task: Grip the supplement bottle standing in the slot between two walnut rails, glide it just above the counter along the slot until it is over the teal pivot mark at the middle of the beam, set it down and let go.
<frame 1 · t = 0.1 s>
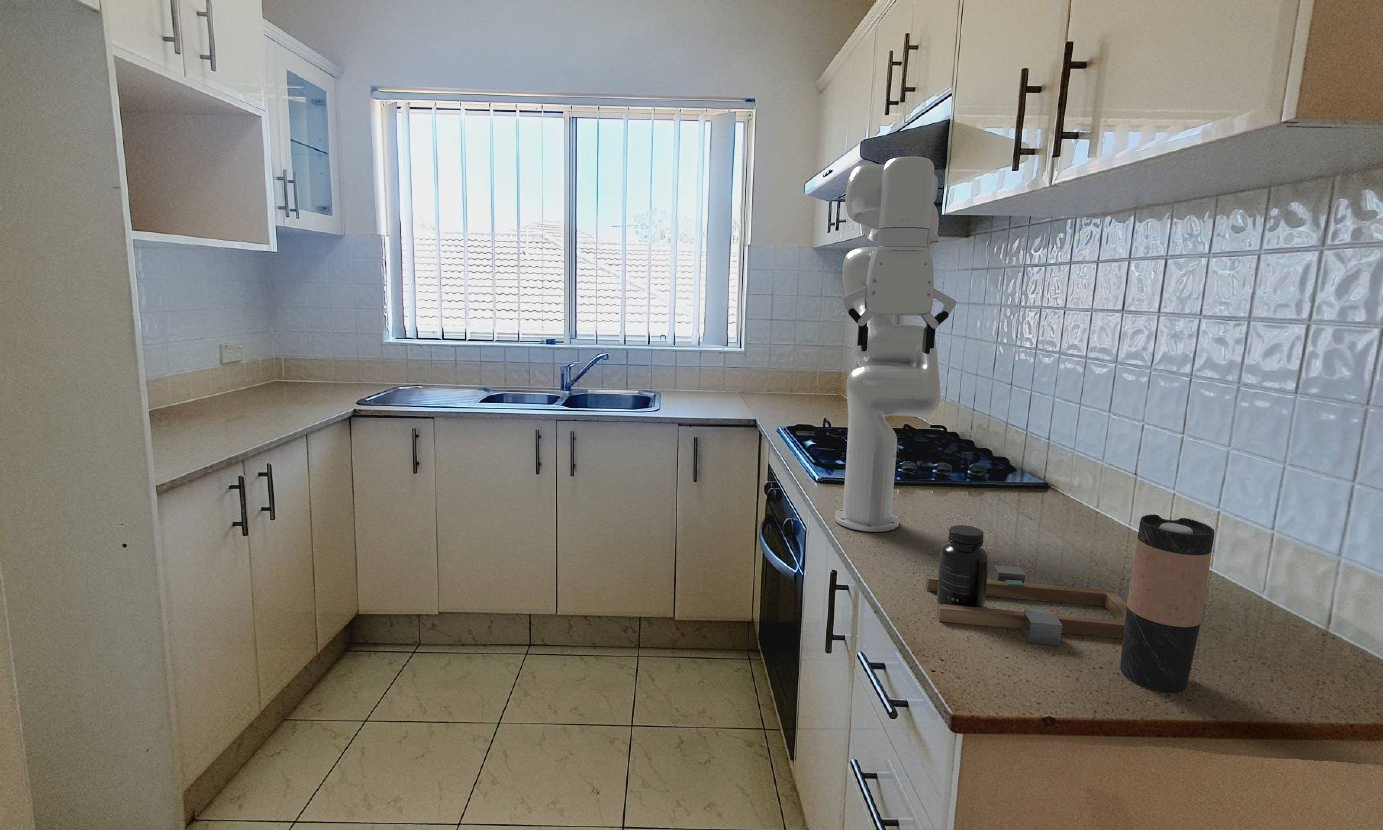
hand: (894, 351, 115), 37 cm above the worktop, tool pointing down, fingers open, 9 cm apart
travel mug: (1152, 678, 90), on the worktop
pivot blocks: (1022, 611, 107), on the worktop
walnut rails: (1022, 611, 107), on the worktop
supplement bottle: (959, 606, 108), on the worktop
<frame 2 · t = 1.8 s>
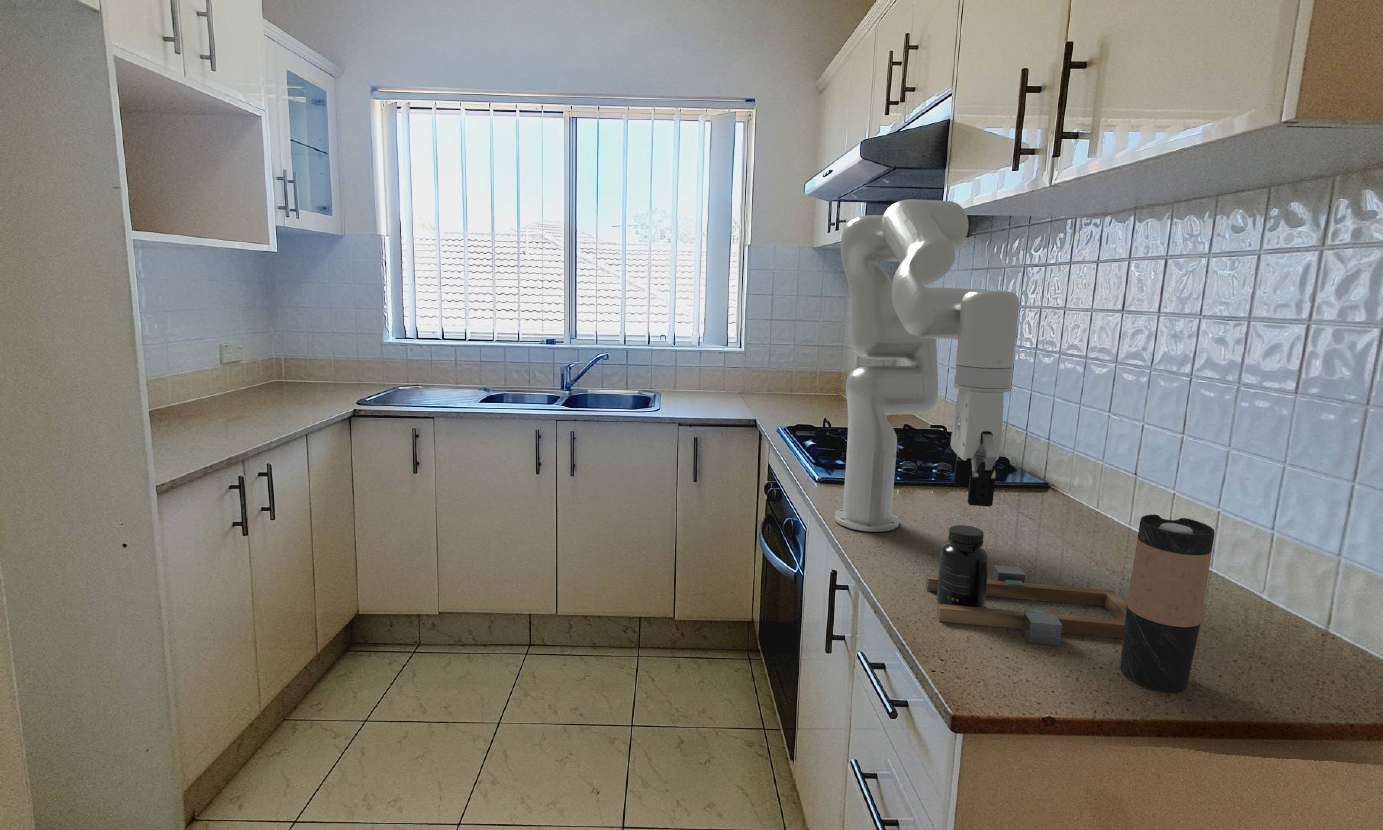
hand: (971, 495, 105), 17 cm above the worktop, tool pointing down, fingers open, 9 cm apart
nothing on the worktop moved.
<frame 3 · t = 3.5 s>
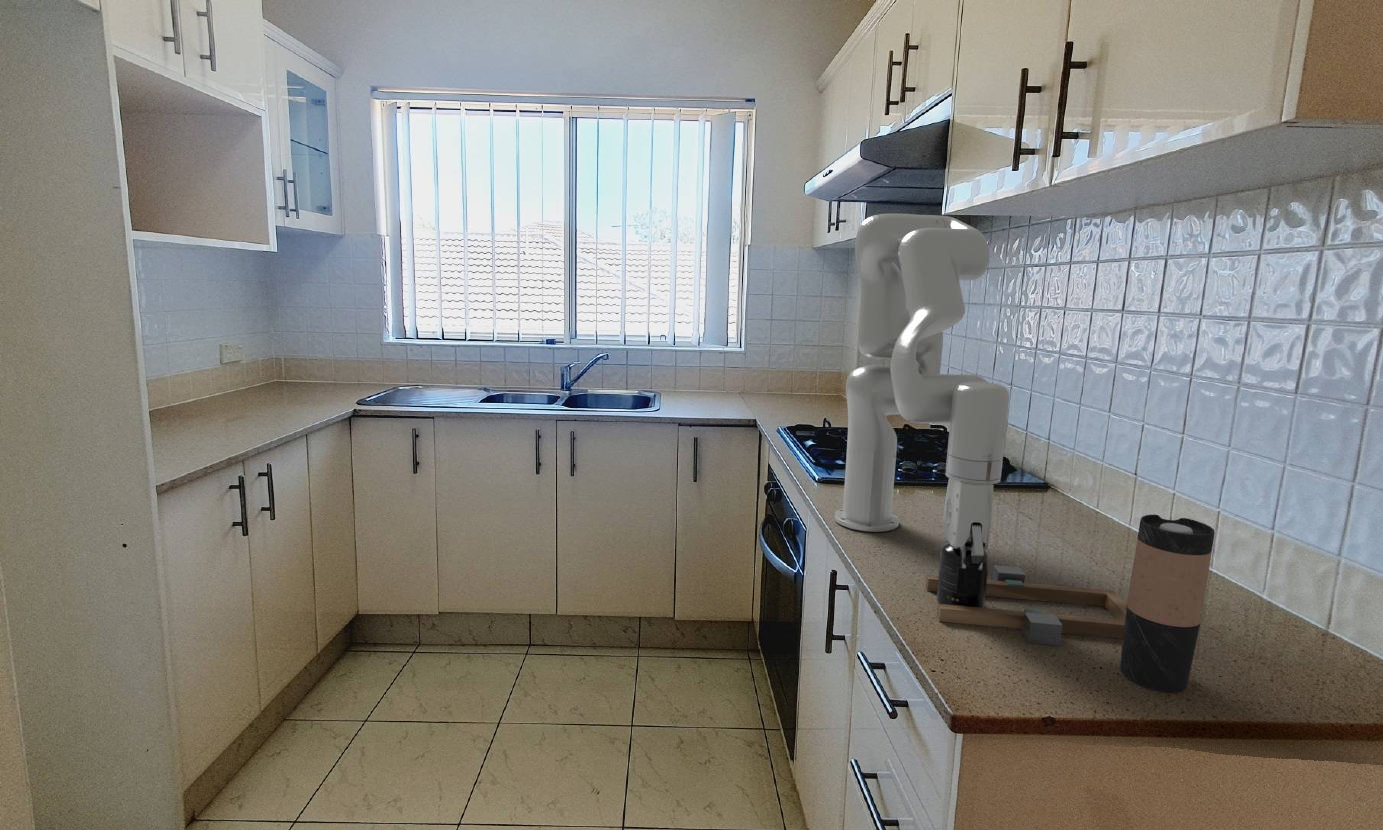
hand: (961, 582, 108), 4 cm above the worktop, tool pointing down, fingers closed on supplement bottle, 6 cm apart
supplement bottle: (959, 606, 108), on the worktop, touching gripper
everything else where it was.
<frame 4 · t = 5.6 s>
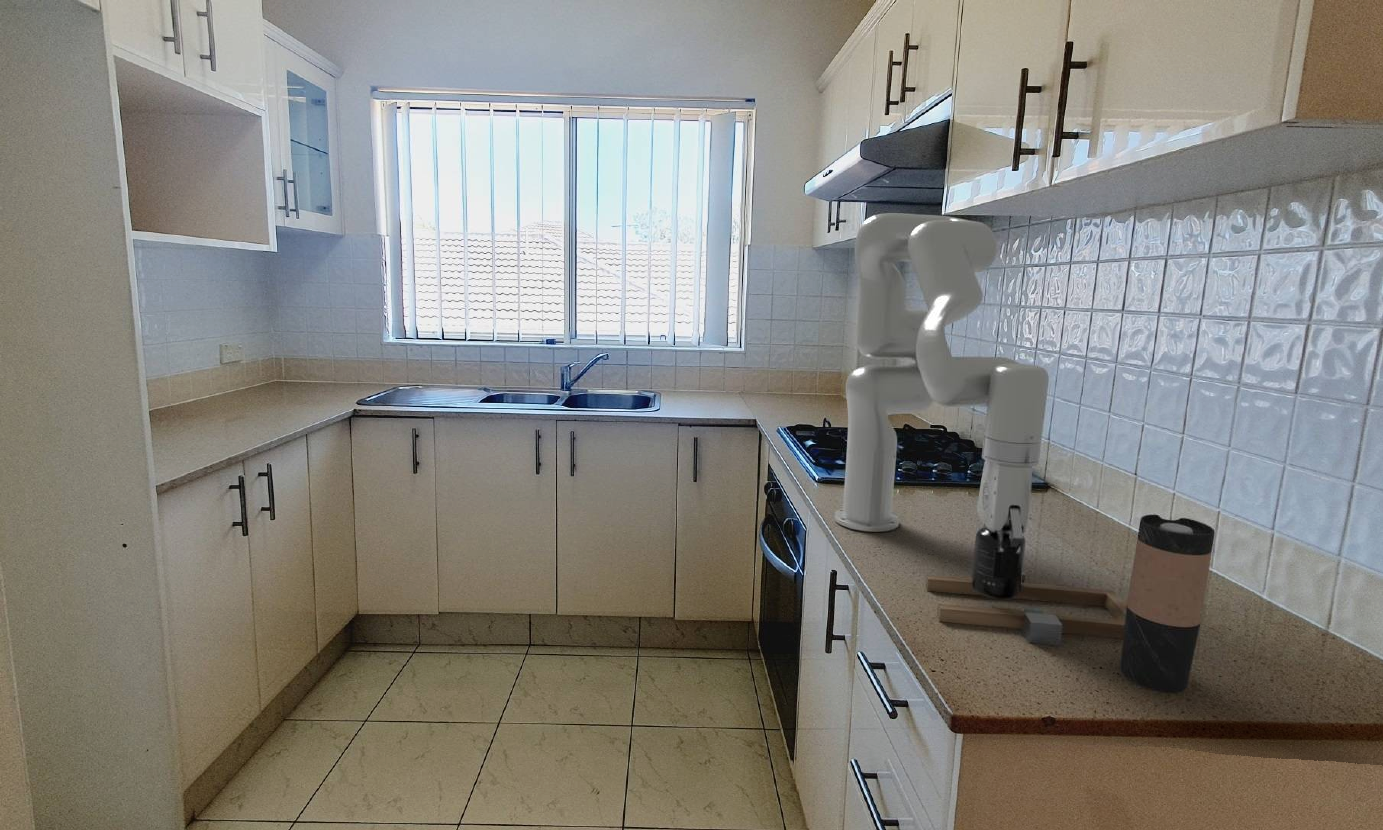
hand: (997, 566, 107), 7 cm above the worktop, tool pointing down, fingers closed on supplement bottle, 6 cm apart
supplement bottle: (994, 591, 107), point 3 cm above the worktop, touching gripper
everything else where it was.
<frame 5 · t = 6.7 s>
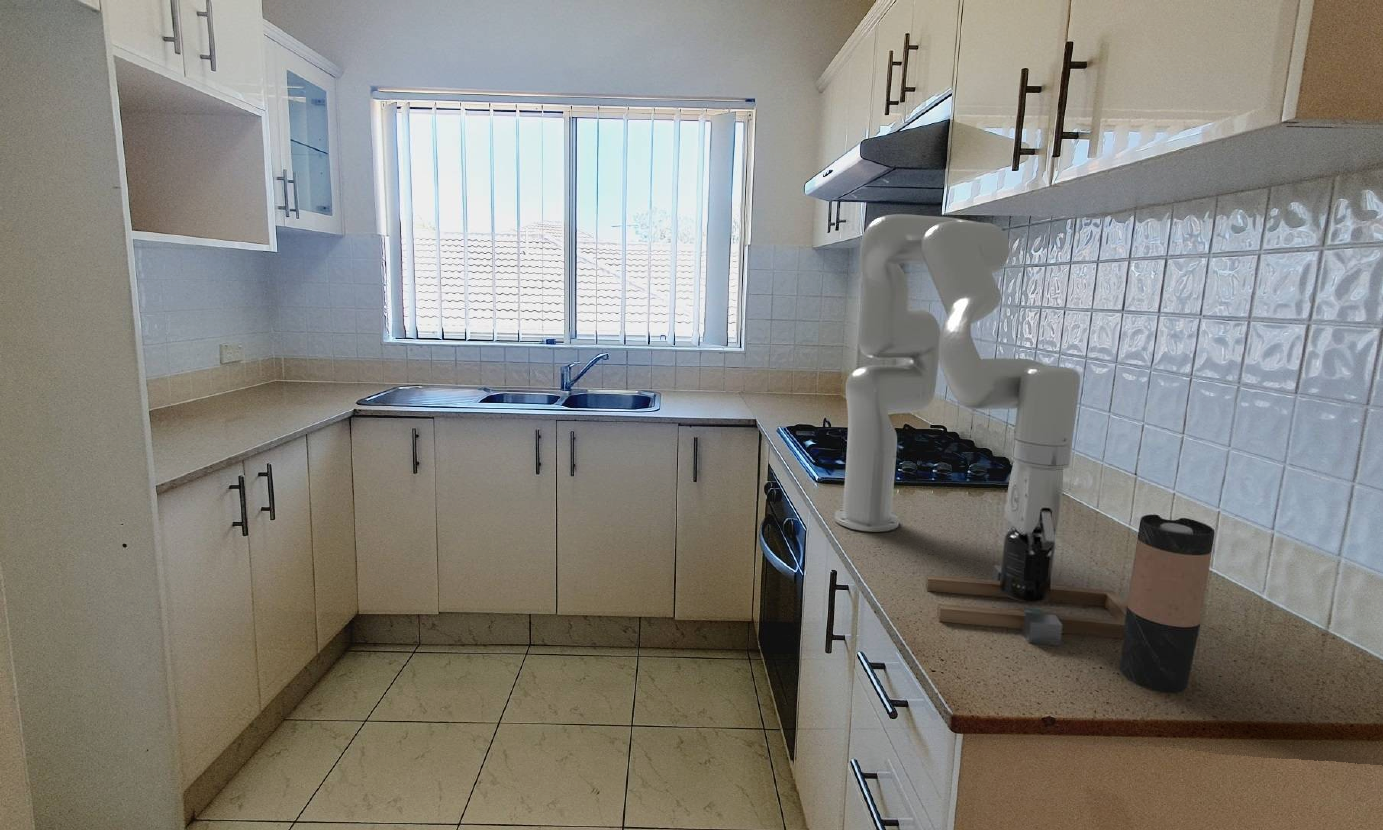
hand: (1026, 569, 106), 7 cm above the worktop, tool pointing down, fingers closed on supplement bottle, 6 cm apart
supplement bottle: (1023, 594, 107), point 3 cm above the worktop, touching gripper
everything else where it was.
when the fingers open (5 cm above the worktop, at t = 7.6 s): supplement bottle stays where it is, on the worktop.
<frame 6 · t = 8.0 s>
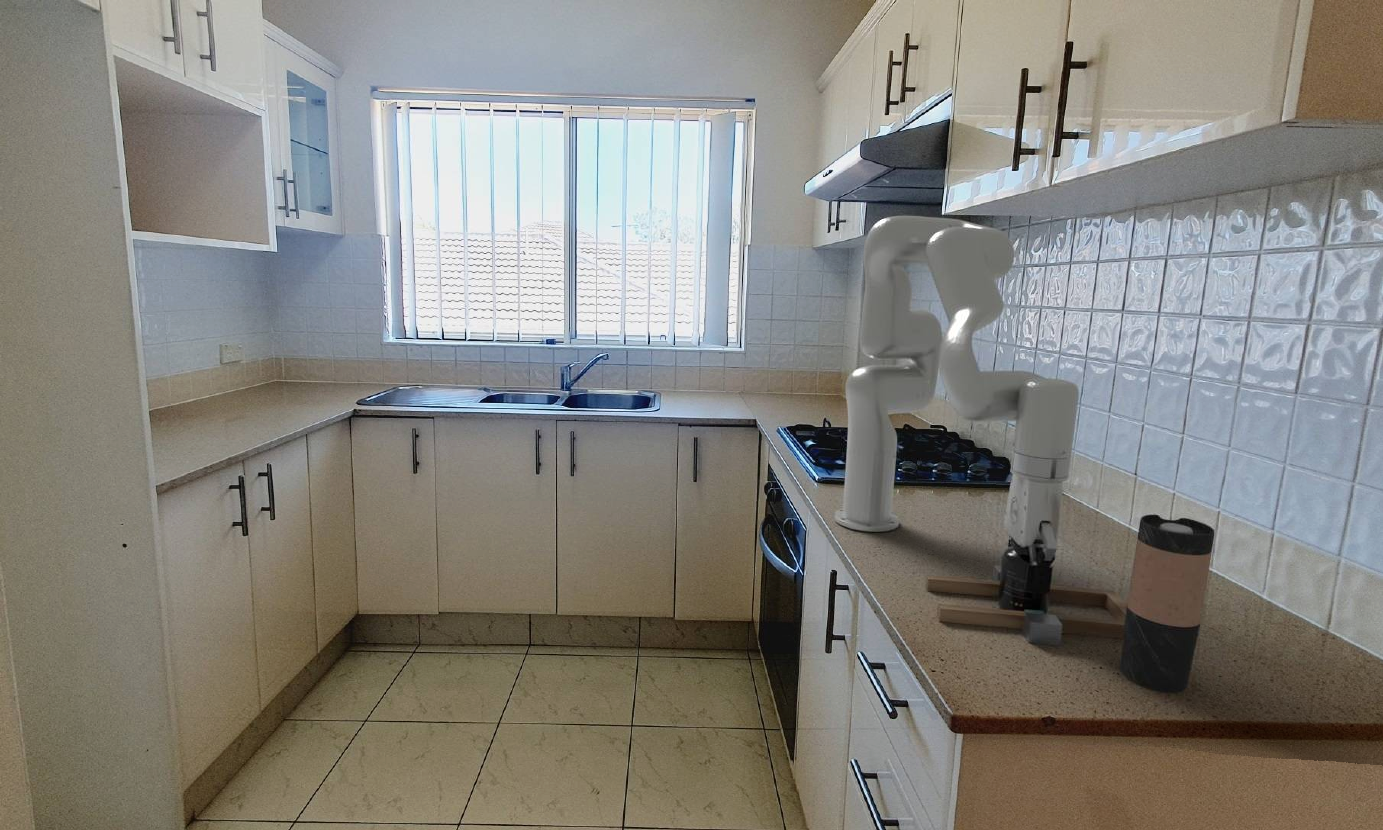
hand: (1026, 577, 106), 5 cm above the worktop, tool pointing down, fingers open, 9 cm apart
supplement bottle: (1021, 611, 107), on the worktop
everything else where it was.
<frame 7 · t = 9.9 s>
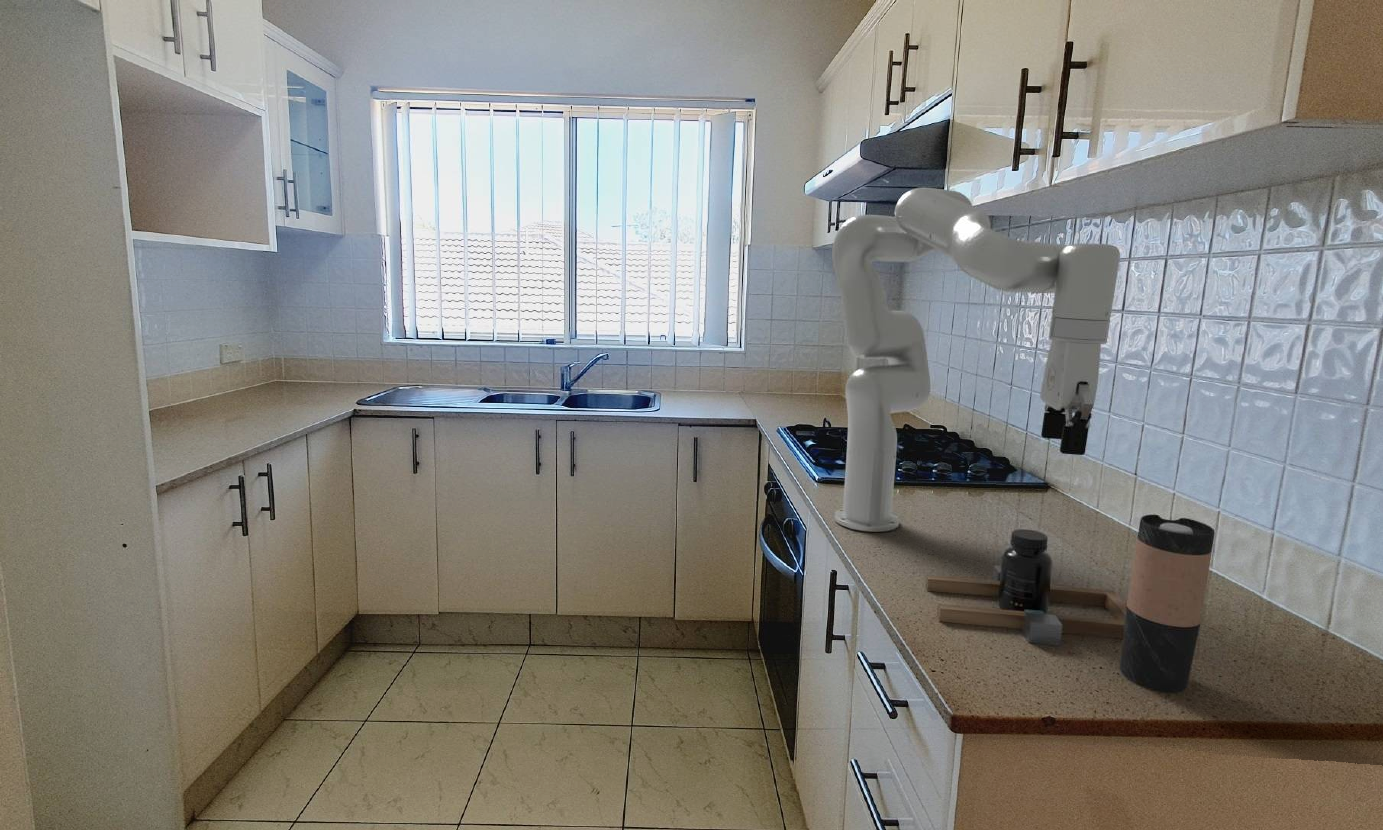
hand: (1061, 445, 108), 24 cm above the worktop, tool pointing down, fingers open, 9 cm apart
nothing on the worktop moved.
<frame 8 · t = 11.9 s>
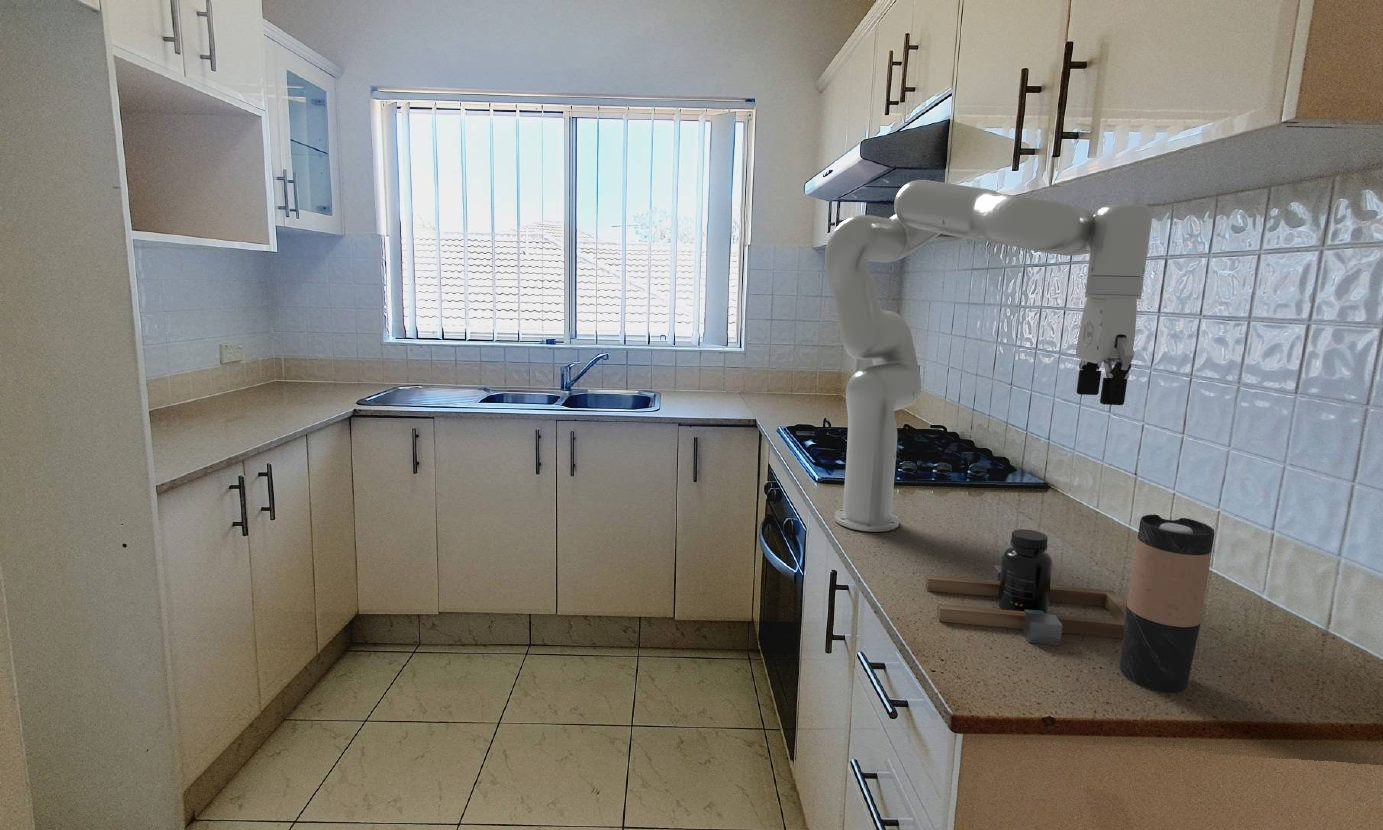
hand: (1098, 399, 113), 30 cm above the worktop, tool pointing down, fingers open, 9 cm apart
nothing on the worktop moved.
at the end: supplement bottle inside the target area (0.4 cm from its centre), on the worktop; supplement bottle tilted 0°; the gripper is holding nothing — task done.
